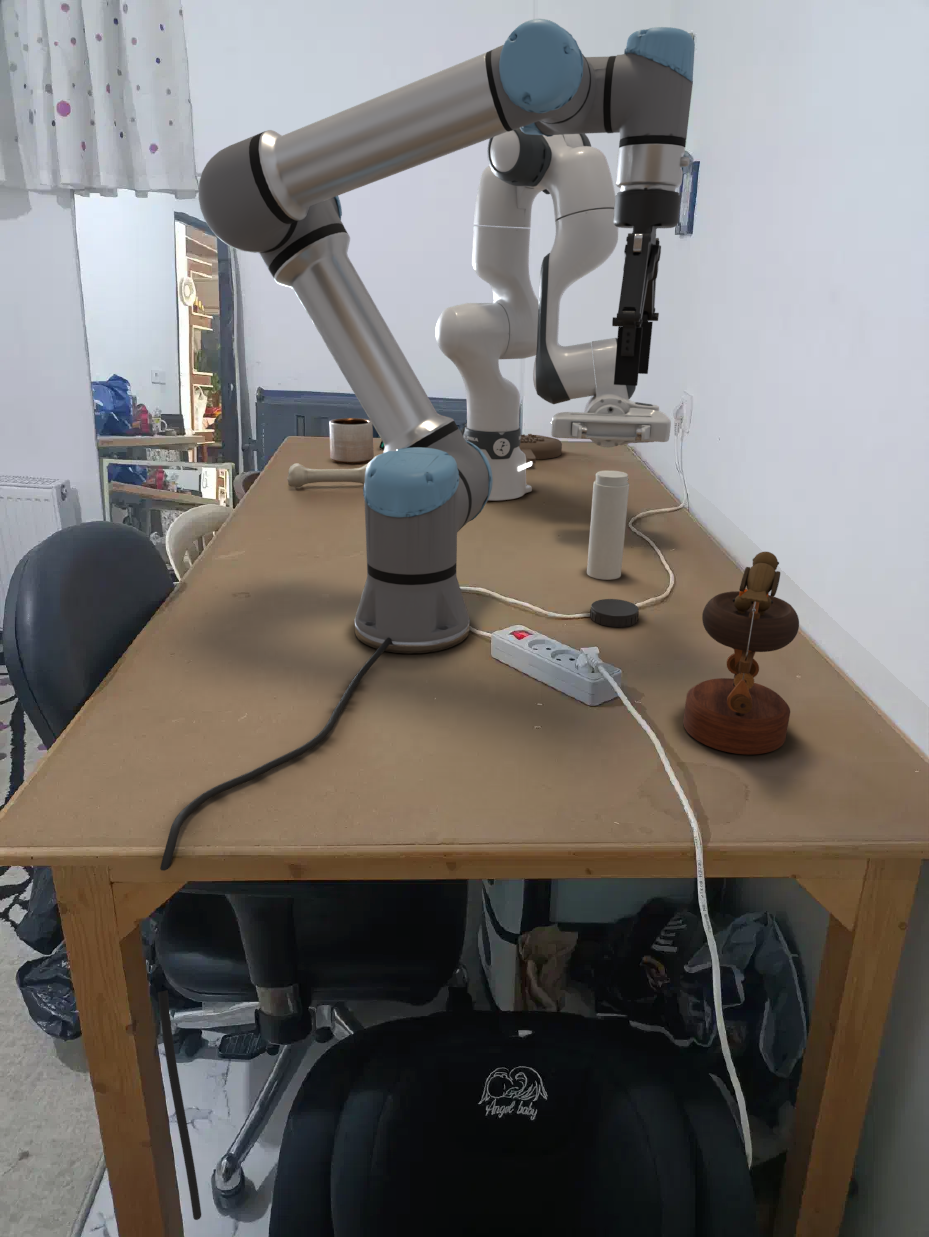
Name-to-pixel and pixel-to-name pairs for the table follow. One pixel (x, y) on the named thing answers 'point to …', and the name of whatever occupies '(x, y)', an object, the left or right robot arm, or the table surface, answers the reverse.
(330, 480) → the dog toy
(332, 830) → the table surface
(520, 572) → the table surface
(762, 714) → the wooden figure sculpture
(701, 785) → the table surface
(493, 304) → the right robot arm
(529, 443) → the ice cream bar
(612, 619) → the lid
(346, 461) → the planter
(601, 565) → the jar
